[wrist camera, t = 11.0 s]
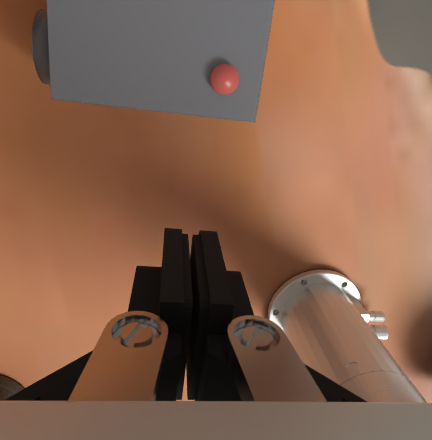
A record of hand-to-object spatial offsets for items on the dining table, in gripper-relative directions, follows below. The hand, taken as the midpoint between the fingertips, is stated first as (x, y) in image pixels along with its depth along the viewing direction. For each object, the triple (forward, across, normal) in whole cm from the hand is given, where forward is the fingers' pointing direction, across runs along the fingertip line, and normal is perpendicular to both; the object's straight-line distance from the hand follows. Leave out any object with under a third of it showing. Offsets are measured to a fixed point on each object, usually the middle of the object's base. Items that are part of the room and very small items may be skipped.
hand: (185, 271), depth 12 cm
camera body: (+29, +3, -7) cm, 30 cm away
